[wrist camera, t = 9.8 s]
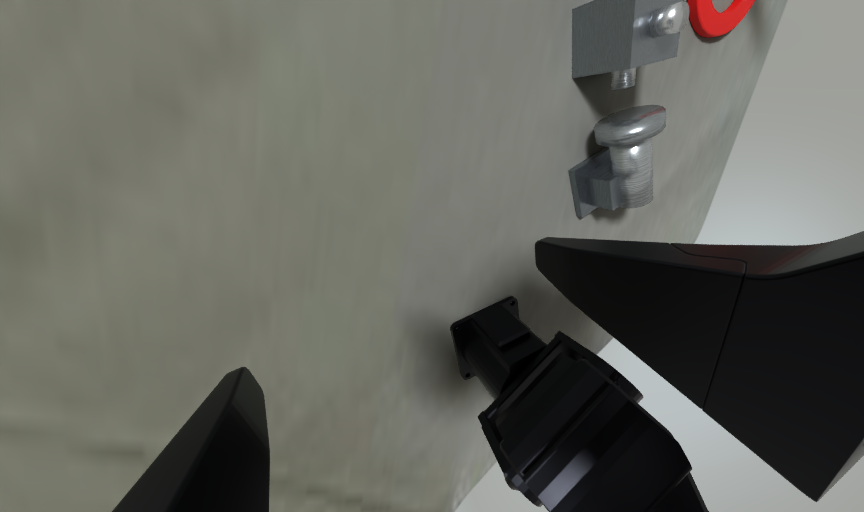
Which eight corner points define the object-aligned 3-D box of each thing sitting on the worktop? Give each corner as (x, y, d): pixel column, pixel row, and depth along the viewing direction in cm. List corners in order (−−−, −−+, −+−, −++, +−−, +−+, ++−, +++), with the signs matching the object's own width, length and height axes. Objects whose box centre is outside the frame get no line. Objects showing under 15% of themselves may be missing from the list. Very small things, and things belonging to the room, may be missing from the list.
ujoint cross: (612, 85, 24) (694, 75, 19) (571, 96, 23) (647, 89, 18) (617, -22, 21) (716, -65, 16) (571, -14, 20) (662, -58, 15)
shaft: (626, 182, 28) (687, 193, 24) (576, 216, 27) (631, 233, 23) (620, 101, 25) (691, 97, 20) (562, 137, 24) (623, 140, 19)
